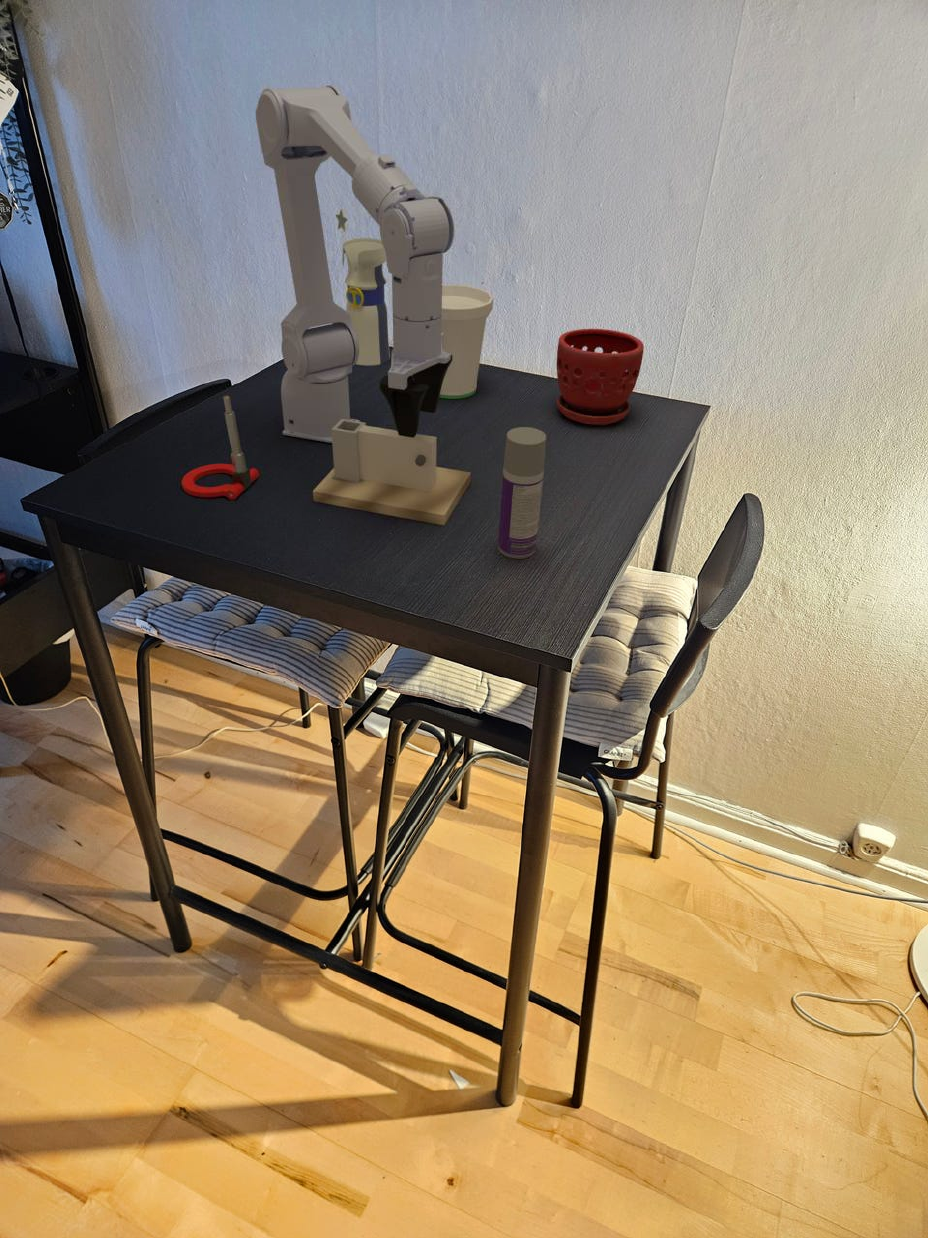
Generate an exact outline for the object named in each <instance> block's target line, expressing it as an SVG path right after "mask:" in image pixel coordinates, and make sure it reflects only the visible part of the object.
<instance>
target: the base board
mask: <svg viewBox="0 0 928 1238" xmlns="http://www.w3.org/2000/svg"><path fill="white" fill-rule="evenodd" d="M471 475H472V473H471V472H468V471H464V470H458V469H451V468H447V467H446V468H445V467H442V466H441V467H440V466H436V486H435V488H434V489H433V491H432V492H429V491H424V490H418V489H412V488H407V487H401V486H395V485H390V484H384V483H379V482H373V481H367V480H362V479H360V481H359V482H356V481H350V480H344V479H339V478H335V474H334V467H333V468H332V469H331V470H330V472H329V473H328V474H327V475H326V476H325V477H324V478H323V479H322V480H321V481H320V482H319V484H318V485H317V486H316V487H315V488H314V489H313V491H312V498H313V502H316V503H321V504H326V505H332V506H338V507H344V508H348V509H353V510H358V511H359V510H360V511H364V512H370V513H375V514H381V515H386V516H391V517H396V518H402V519H407V520H412V521H418V522H424V523H429V524H434V525H439V526H446V523H447V522H448V520H449V519H450V517H451V515H452V514H453V513H454V510H455V508H456V507H457V505H458V504H459V502H460V500H461V499H462V497H463V495H464V494H465V492H466V491H467V488H468V487H469V486H470V483H471V480H472V479H471Z"/></svg>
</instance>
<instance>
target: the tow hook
mask: <svg viewBox="0 0 928 1238" xmlns="http://www.w3.org/2000/svg"><path fill="white" fill-rule="evenodd" d="M222 398H223V403H224V408H225V412H224V416H225V417H224V418H225V422H226V427H227V432H228V439H229V443H230V448H231V454H230V458H231V464H230V463H212V464H207V465H202V466H200V467H197V468H194V469H193V470H190V471H189V472H187V473H186V474H185V475H184V476H183V477H182V479H181V486H182V487H181V488H182V489H183V490H184V492H185V493H186V494H188V495H191V496H194V497H200V498H216V497H223V496H224V497H227V499H229V500H231V501H232V500H235V499H237V498H238V496H240V495H241V494H242V493H244V492H245V491H246V490H247V489H249V487H250V486H251V485H252V483H253V482H255V480H257V478H259V476H260V473H259V471H258V470H257V469H256V468H248V467H247V465H246V459H245V455H244V454H245V453H244V452H243V451H242V447H241V441H240V437H239V430H238V427H237V421H236V416H235V415H236V414H235V411H233V408H232V403H231V396H230V395H224V396H223V397H222ZM213 474H227V475H231V477H232V478H231V479H232V484H230V483H225V484H222V485H219V486H213V487H211V486H209V487H208V486H200V485H197V484H196V482H197V480H198V479H200V478H202V477H205V476H208V475H213Z"/></svg>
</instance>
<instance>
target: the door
mask: <svg viewBox="0 0 928 1238" xmlns="http://www.w3.org/2000/svg"><path fill="white" fill-rule="evenodd" d="M331 431H332V443H331V445H332V456H333V457H332V458H333V468H334V474H335V478H339V479H344V480H350V481H356V482H359V481H360V479H362V480H367V481H373V482H379V483H384V484H390V485H395V486H401V487H407V488H412V489H418V490H424V491H429V492H432V491H433V489H434V488H435V486H436V467H437V439H438V438H437V436H433V435H426V434H421V433H416V436H415V437H414V438H412V437H405V436H399V434H398V431H397V429H396V430H394V429H389V428H384V427H383V428H382V427H378V426H377V427H376V426H370V425H367V423H366V422H364V421H363V422H362V421H360V422H358V421H352V420H346V419H341V420H340V421H339V422H338V423H337V424H336V425H335V426H334V427H333V428H332V429H331Z"/></svg>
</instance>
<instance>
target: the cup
mask: <svg viewBox="0 0 928 1238" xmlns="http://www.w3.org/2000/svg"><path fill="white" fill-rule="evenodd" d="M493 306H494V297H493V295H492V294H491V292H489V291H487V290H485V289H483V288H479V287H476V286H472V285H464V284H442V331H441V333H444V345H443V351H444V352H449V353H451V355H452V356H453V358H452V362H451V364H450V365H449V367H448V369H447V372H446V374H445V377H444V380H443V383H442V387H441V391H440V395H439V399H447V400H448V399H450V400H459V399H465V398H469V397H471V396H473V395H474V394H475V393H476V391H477V386H478V384H477V382H478V377H479V375H478V374H479V369H480V362H481V354H482V350H483V341H484V336H485V329H486V322H487V318H488V317H489V315H490V314H491V312H492V310H493V308H494V307H493Z"/></svg>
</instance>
